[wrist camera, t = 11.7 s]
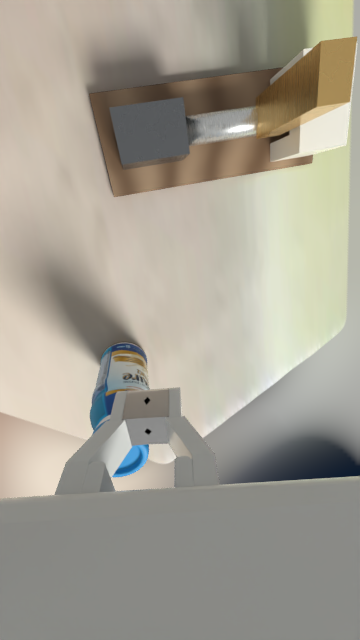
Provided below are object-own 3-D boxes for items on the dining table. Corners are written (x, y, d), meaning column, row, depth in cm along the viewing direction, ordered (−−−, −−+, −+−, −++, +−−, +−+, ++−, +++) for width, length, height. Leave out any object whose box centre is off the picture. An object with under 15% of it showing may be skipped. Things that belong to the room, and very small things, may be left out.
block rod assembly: (178, 154, 33) (206, 123, 20) (173, 116, 31) (200, 56, 18) (304, 134, 34) (403, 93, 22) (306, 97, 33) (415, 29, 20)
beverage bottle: (91, 353, 45) (62, 453, 27) (134, 332, 44) (134, 419, 26) (115, 386, 48) (105, 493, 30) (155, 367, 48) (168, 464, 30)
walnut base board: (114, 197, 35) (114, 196, 34) (90, 96, 31) (88, 93, 30) (307, 163, 38) (312, 162, 37) (313, 66, 33) (318, 62, 32)
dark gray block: (123, 170, 33) (121, 164, 29) (112, 121, 31) (109, 107, 27) (182, 160, 34) (189, 153, 29) (176, 112, 32) (183, 97, 27)
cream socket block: (270, 162, 36) (299, 153, 30) (270, 79, 32) (303, 49, 26) (309, 155, 36) (346, 145, 30) (314, 73, 32) (357, 42, 26)
